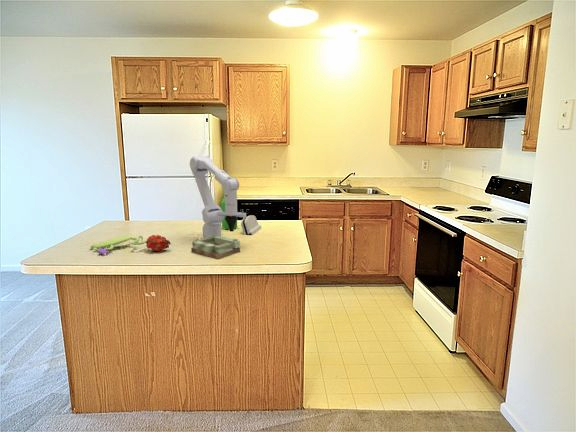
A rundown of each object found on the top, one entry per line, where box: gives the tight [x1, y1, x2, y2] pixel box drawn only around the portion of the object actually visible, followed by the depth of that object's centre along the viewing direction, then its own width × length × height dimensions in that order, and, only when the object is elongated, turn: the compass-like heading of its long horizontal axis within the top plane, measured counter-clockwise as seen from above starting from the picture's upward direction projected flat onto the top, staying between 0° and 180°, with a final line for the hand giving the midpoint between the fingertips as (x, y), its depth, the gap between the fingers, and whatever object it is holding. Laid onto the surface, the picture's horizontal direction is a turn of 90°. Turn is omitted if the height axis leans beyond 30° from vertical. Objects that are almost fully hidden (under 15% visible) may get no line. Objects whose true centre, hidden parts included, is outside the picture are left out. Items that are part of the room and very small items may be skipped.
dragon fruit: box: [145, 234, 172, 252], centre depth 184 cm, size 8×8×12 cm
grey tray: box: [191, 236, 241, 260], centre depth 182 cm, size 18×14×5 cm
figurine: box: [90, 234, 147, 256], centre depth 187 cm, size 18×27×6 cm
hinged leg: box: [214, 235, 241, 248], centre depth 185 cm, size 14×3×4 cm, turn 53°
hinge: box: [240, 214, 262, 236], centre depth 219 cm, size 17×5×10 cm, turn 166°
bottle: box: [220, 196, 238, 231], centre depth 224 cm, size 9×9×25 cm
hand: (231, 231), depth 190 cm, fingers closed
